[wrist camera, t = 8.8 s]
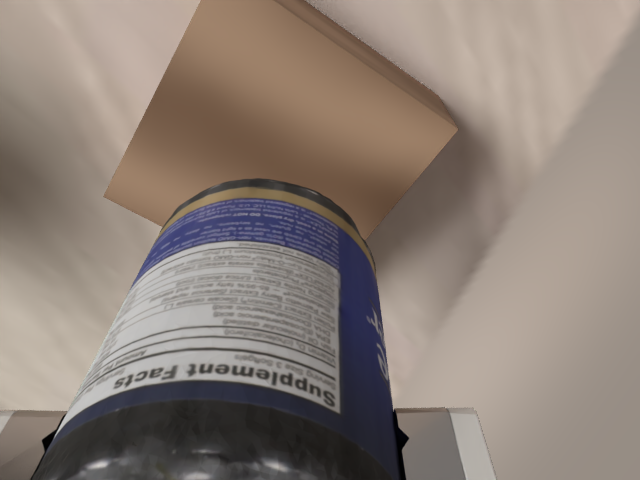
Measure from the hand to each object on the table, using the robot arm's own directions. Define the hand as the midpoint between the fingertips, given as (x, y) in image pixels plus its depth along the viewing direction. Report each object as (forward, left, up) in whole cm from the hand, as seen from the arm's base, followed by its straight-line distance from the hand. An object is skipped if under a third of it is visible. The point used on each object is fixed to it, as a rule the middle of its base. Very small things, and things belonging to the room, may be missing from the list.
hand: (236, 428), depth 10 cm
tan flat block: (0, 0, -16) cm, 16 cm away
